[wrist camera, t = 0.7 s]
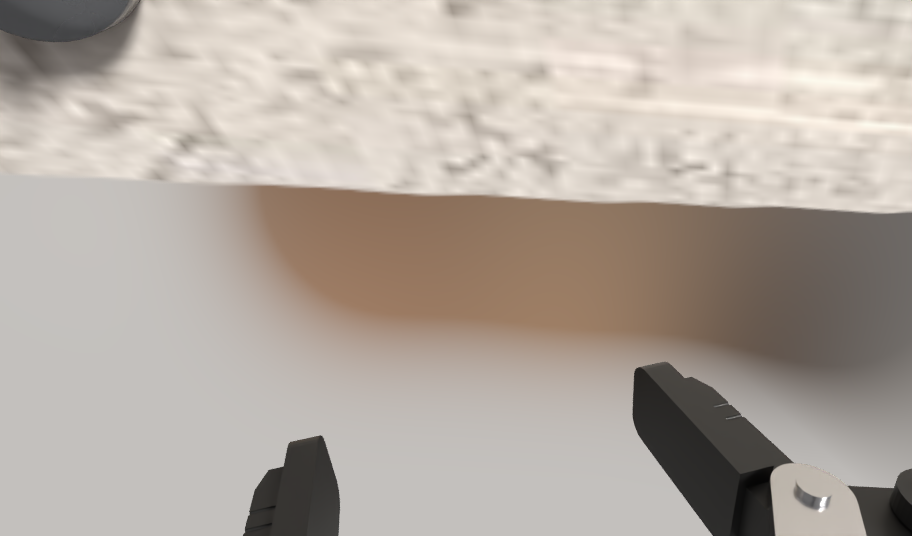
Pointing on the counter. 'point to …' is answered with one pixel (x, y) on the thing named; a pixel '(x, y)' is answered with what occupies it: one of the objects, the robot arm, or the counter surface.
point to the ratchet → (62, 17)
